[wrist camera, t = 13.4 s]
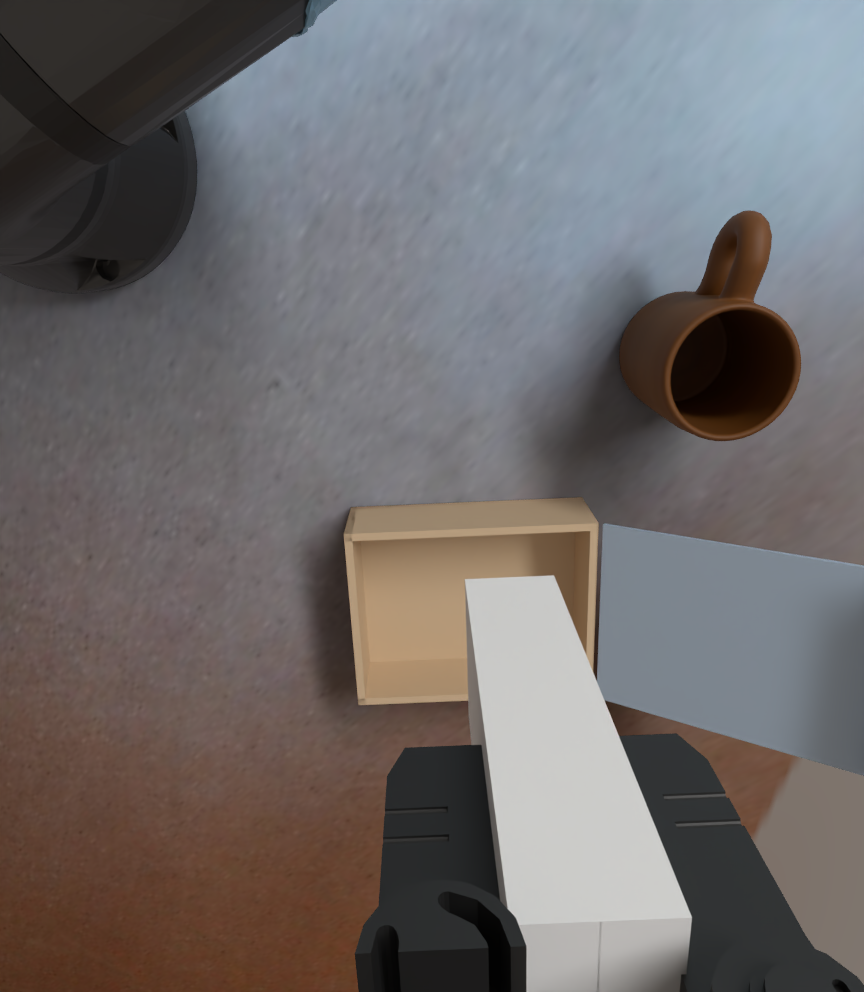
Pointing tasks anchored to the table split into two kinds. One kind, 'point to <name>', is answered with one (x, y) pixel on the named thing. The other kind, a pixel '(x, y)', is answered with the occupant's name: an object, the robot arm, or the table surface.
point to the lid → (735, 641)
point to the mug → (716, 344)
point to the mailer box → (453, 584)
